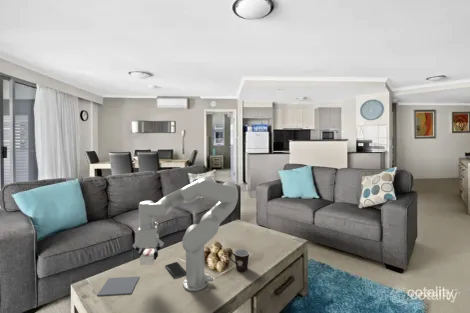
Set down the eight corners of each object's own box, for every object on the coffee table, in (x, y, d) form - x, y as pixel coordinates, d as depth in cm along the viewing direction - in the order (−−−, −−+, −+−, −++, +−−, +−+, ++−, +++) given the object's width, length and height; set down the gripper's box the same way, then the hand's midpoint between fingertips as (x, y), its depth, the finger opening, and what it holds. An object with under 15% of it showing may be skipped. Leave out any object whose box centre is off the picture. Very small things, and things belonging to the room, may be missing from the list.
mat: (139, 277, 136) (139, 276, 136) (131, 293, 122) (131, 292, 122) (108, 278, 134) (108, 278, 134) (97, 295, 120) (97, 294, 120)
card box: (157, 255, 133) (156, 248, 132) (152, 264, 124) (151, 256, 123) (145, 255, 133) (145, 248, 132) (140, 264, 124) (139, 257, 123)
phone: (174, 277, 134) (164, 265, 147) (174, 279, 134) (164, 267, 147) (187, 273, 139) (177, 261, 151) (187, 275, 139) (177, 263, 151)
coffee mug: (252, 268, 145) (252, 252, 144) (242, 275, 138) (242, 257, 137) (237, 261, 153) (237, 246, 152) (227, 267, 146) (227, 251, 145)
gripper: (166, 221, 131) (167, 254, 133) (132, 223, 129) (133, 256, 131) (163, 227, 124) (164, 261, 125) (127, 228, 122) (129, 263, 124)
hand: (148, 258), depth 128 cm, fingers closed on card box, 6 cm apart
